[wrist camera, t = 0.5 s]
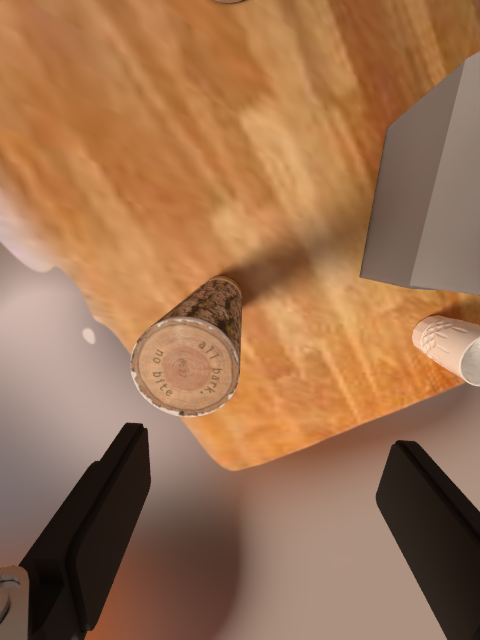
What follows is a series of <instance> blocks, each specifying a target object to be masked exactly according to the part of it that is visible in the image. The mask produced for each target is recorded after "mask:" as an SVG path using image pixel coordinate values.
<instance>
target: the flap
mask: <svg viewBox="0 0 480 640" xmlns="http://www.w3.org/2000/svg"><path fill="white" fill-rule="evenodd" d="M410 286H417V287H424V288H431V289H438V290H445V291H452V292H460V293H467V294H474V295H480V52H478V53H476V54H474V55H472V56H471V57H469V58H467V59H466V60H465V64H464V68H463V72H462V76H461V80H460V84H459V88H458V92H457V96H456V100H455V104H454V108H453V112H452V116H451V120H450V124H449V128H448V132H447V136H446V140H445V144H444V148H443V152H442V156H441V160H440V164H439V168H438V172H437V176H436V180H435V184H434V188H433V192H432V197H431V201H430V205H429V209H428V213H427V217H426V221H425V225H424V229H423V233H422V237H421V241H420V245H419V249H418V253H417V257H416V261H415V265H414V269H413V273H412V277H411V281H410Z"/></svg>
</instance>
